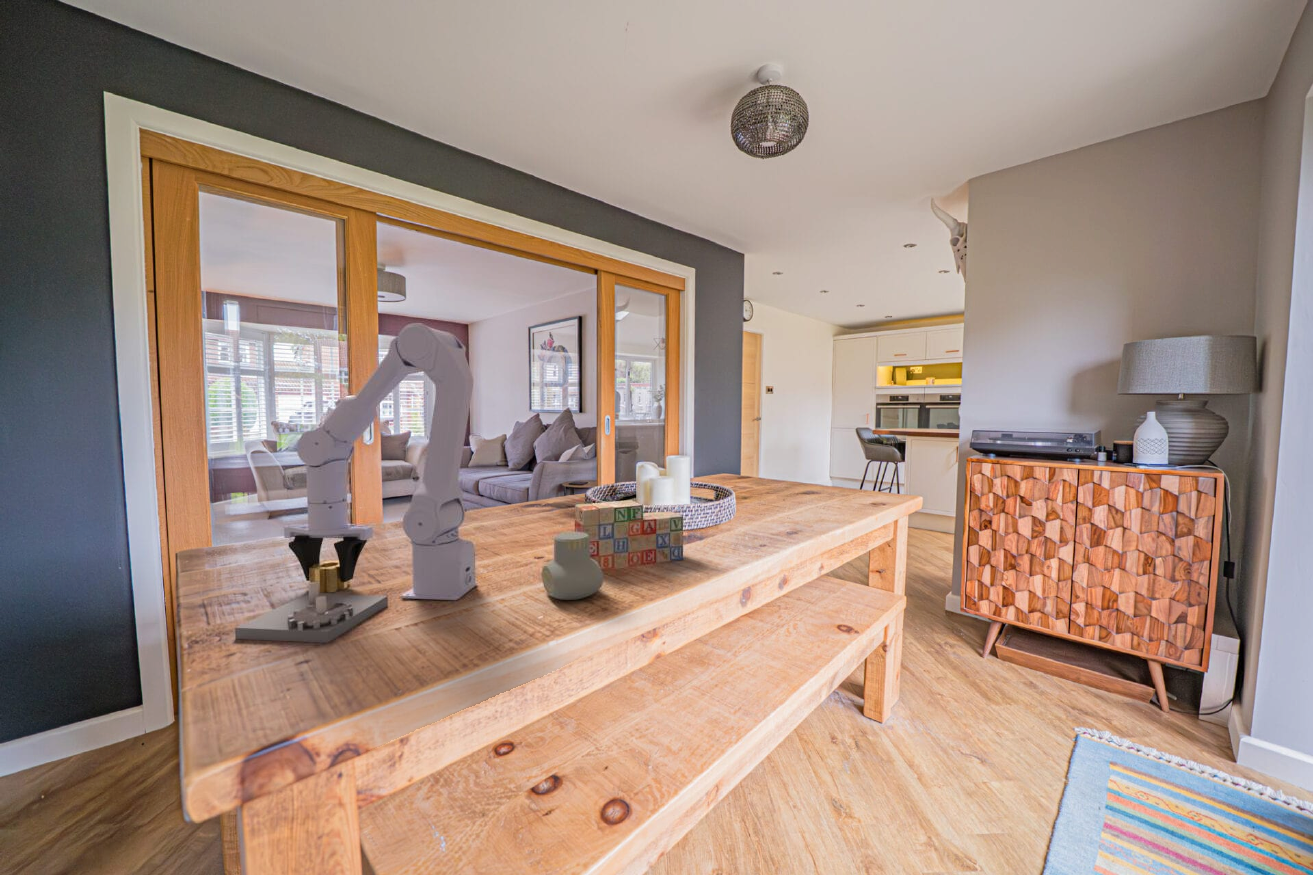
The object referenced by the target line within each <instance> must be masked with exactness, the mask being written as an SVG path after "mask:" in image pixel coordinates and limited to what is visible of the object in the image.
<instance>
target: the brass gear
mask: <svg viewBox="0 0 1313 875" xmlns="http://www.w3.org/2000/svg"><path fill="white" fill-rule="evenodd" d="M308 582H309V583H311V582H318V593H325V594H326V593H329V594H333V593H336V591H340V590H345V589H347V588H348V586H350V584H351V583H350V582H351V580H349V581H347V582H341V579H340V566H339V559H338V560H334V561H333V560H324V561H323V562H320V563H319V564H313V565H312V567H309V581H308Z"/></svg>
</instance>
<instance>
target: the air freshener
mask: <svg viewBox="0 0 1313 875" xmlns="http://www.w3.org/2000/svg"><path fill="white" fill-rule="evenodd" d="M603 574H604V573H603V570H601V568H600V566H599V564H598V563H597V562H596V561H595V560H594V559H591V558H590V536H589V535H588V534H586V533H583V532H575V531H566V532H560V533H558V534H556V535H555V536H554V537H553V559H552V560H550V561H549V562H547V563H546V564H545V565H543V567H542V570H541V579H542V584H543V587H544V590H545V591H546V593H547V595H549V596H550V597H553V598H555V599H556V600H561V601H575V600H581V599H586V598H587V597H590V596H591V595H594V594H595V593H596V592H598V591H599V590H600V589H601V588H602V586H603V583H604V576H603Z"/></svg>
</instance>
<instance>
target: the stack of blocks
mask: <svg viewBox="0 0 1313 875" xmlns="http://www.w3.org/2000/svg"><path fill="white" fill-rule="evenodd" d="M574 513H575V517H574V518H575V519H574V532H583V533H586V534H588V535H589V536H590V558H591V559H594V560H595V561H596V562H597V563H598V564H599V566H600V568H601V570H602V571H607V570H616V569H624V568H629V567H630V568H631V567H638V566H646V565H652V564H651V563H653V564H660V563H667V562H668V563H669V562H675V561H683V560H684V516H683V515H681V514H678V513H676V512H673V511H671V510H667V511H658V512H657V511H654V512H644V504H642V503H639V502H636V501H634V500H632V499H630V500H616V501H615V500H614V501H605V502H595V503H594V502H593V503H580V504H575V506H574Z"/></svg>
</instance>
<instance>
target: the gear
mask: <svg viewBox="0 0 1313 875" xmlns="http://www.w3.org/2000/svg"><path fill="white" fill-rule="evenodd" d="M350 615H353V607H352V604H351V603H347V604H343V602H340V601H338V602H336V603H328V602H326V612H324V613H316V606H313V605H310V606H307V608H305V609H303V610H296V611H294V615H289V616H288V617H287V618H288V624H289V628H290V629H292V628H296V627H297V628H298V630H299V631H303V630H305V629H310V628H314V630H317V629H320V628H321V627H324V626H328V625H330V626H334V625H337V622H340V621H346V620H348V619H349V616H350Z"/></svg>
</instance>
